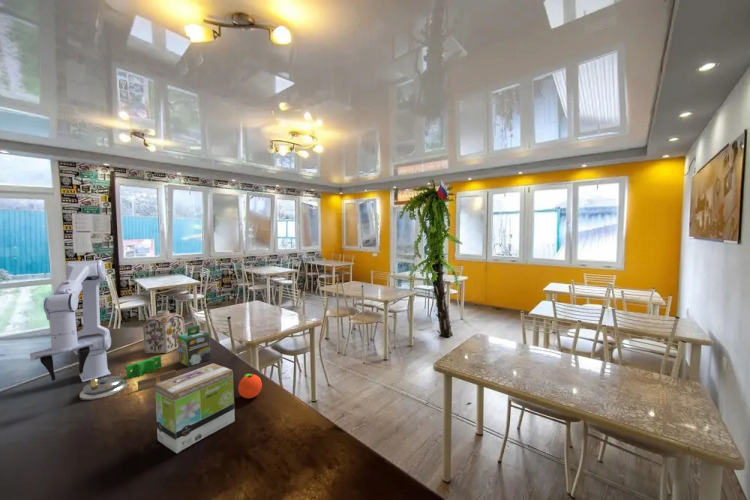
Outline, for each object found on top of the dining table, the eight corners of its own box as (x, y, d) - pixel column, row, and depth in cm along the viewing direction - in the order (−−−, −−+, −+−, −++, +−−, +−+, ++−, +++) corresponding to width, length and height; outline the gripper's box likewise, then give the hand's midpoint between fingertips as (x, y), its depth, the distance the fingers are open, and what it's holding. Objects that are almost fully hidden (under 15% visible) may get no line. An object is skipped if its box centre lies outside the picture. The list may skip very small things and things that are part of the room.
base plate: (77, 392, 104) (77, 389, 104) (122, 379, 113) (122, 376, 113) (82, 404, 96) (81, 401, 96) (130, 388, 105) (130, 386, 105)
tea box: (177, 455, 71) (173, 393, 71) (157, 441, 77) (152, 383, 76) (236, 421, 84) (233, 368, 83) (215, 411, 89) (212, 361, 89)
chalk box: (201, 355, 134) (199, 321, 134) (211, 359, 129) (209, 324, 128) (178, 362, 127) (175, 327, 126) (188, 367, 121) (185, 330, 121)
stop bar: (138, 390, 104) (137, 381, 104) (175, 377, 112) (174, 369, 112) (139, 391, 103) (138, 382, 103) (176, 378, 112) (175, 370, 112)
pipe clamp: (130, 380, 113) (129, 368, 112) (126, 378, 115) (125, 366, 114) (164, 368, 122) (163, 357, 122) (160, 366, 124) (159, 355, 124)
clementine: (233, 396, 97) (232, 374, 97) (254, 388, 102) (253, 367, 102) (244, 405, 92) (243, 382, 91) (266, 396, 97) (265, 373, 96)
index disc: (98, 381, 109) (97, 369, 109) (129, 378, 110) (128, 366, 110) (75, 396, 99) (74, 382, 99) (110, 392, 101) (108, 379, 100)
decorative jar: (143, 353, 139) (140, 314, 138) (165, 344, 151) (162, 308, 150) (166, 354, 137) (164, 314, 136) (186, 344, 149) (184, 308, 148)
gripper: (28, 341, 87) (33, 388, 88) (97, 328, 98) (100, 370, 98) (28, 337, 92) (32, 381, 92) (93, 325, 102) (97, 365, 103)
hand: (67, 375), depth 96 cm, fingers open, 5 cm apart
